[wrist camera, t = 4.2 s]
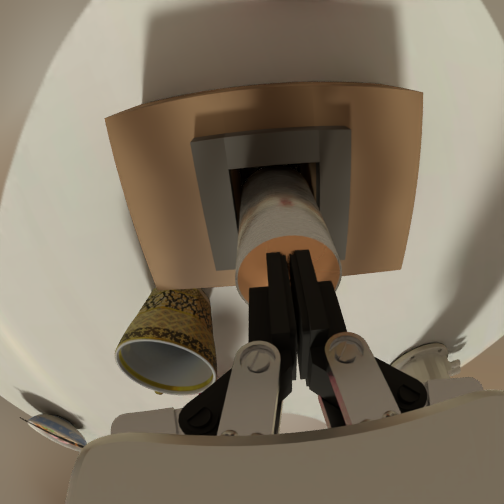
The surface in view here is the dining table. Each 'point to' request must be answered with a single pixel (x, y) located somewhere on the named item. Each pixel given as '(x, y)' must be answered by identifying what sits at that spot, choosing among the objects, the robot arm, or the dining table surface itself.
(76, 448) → the ramen bowl
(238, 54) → the dining table surface
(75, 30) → the dining table surface
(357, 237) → the socket block
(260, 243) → the peg
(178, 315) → the ceramic cup
